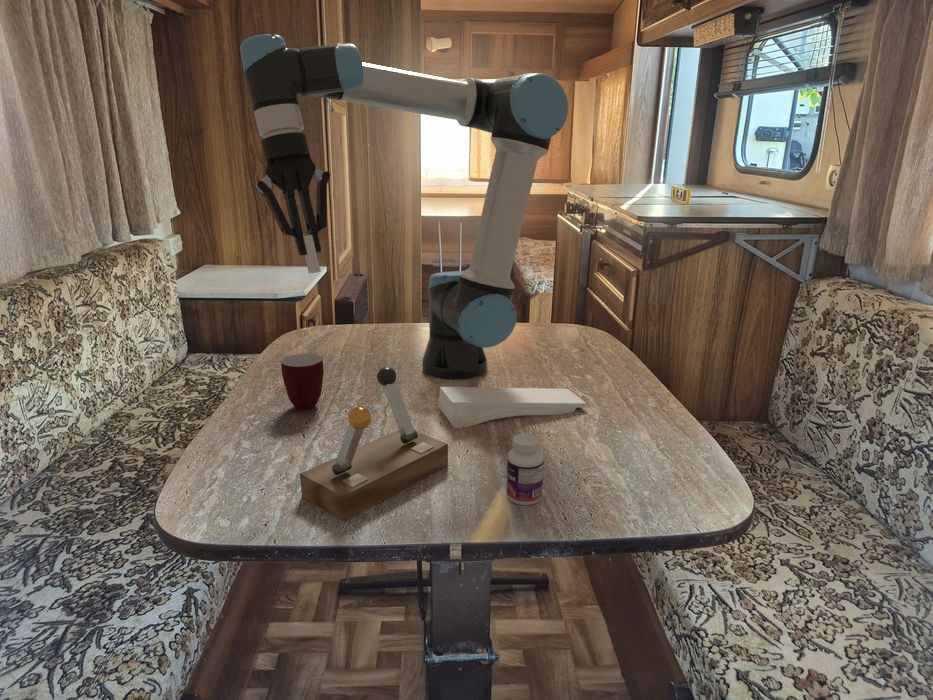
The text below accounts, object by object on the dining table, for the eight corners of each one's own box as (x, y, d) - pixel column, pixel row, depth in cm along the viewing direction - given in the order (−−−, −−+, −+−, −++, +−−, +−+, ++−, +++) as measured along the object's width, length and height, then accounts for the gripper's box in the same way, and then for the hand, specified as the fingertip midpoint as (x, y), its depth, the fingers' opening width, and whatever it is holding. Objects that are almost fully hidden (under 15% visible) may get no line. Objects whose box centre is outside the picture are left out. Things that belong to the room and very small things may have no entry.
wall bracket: (561, 422, 141) (435, 422, 132) (563, 388, 141) (437, 385, 132) (585, 429, 132) (451, 430, 122) (587, 393, 132) (453, 391, 122)
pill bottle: (504, 488, 103) (505, 431, 100) (538, 487, 104) (540, 430, 101) (509, 507, 98) (510, 447, 95) (545, 505, 99) (547, 446, 96)
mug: (319, 420, 127) (315, 371, 124) (277, 420, 127) (272, 371, 124) (329, 399, 137) (326, 353, 134) (290, 399, 137) (286, 353, 134)
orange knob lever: (325, 467, 99) (346, 405, 91) (342, 459, 101) (364, 399, 94) (338, 482, 97) (360, 420, 90) (355, 474, 100) (378, 413, 92)
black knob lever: (397, 446, 109) (370, 372, 109) (411, 439, 111) (384, 367, 111) (409, 442, 107) (381, 367, 107) (423, 436, 109) (396, 362, 109)
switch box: (301, 497, 101) (299, 472, 99) (405, 447, 116) (405, 426, 115) (344, 521, 94) (342, 495, 93) (448, 465, 110) (447, 442, 109)
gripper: (314, 134, 118) (343, 265, 123) (240, 144, 113) (273, 280, 118) (325, 126, 112) (355, 264, 116) (247, 135, 106) (282, 280, 111)
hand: (314, 272), depth 117 cm, fingers closed
